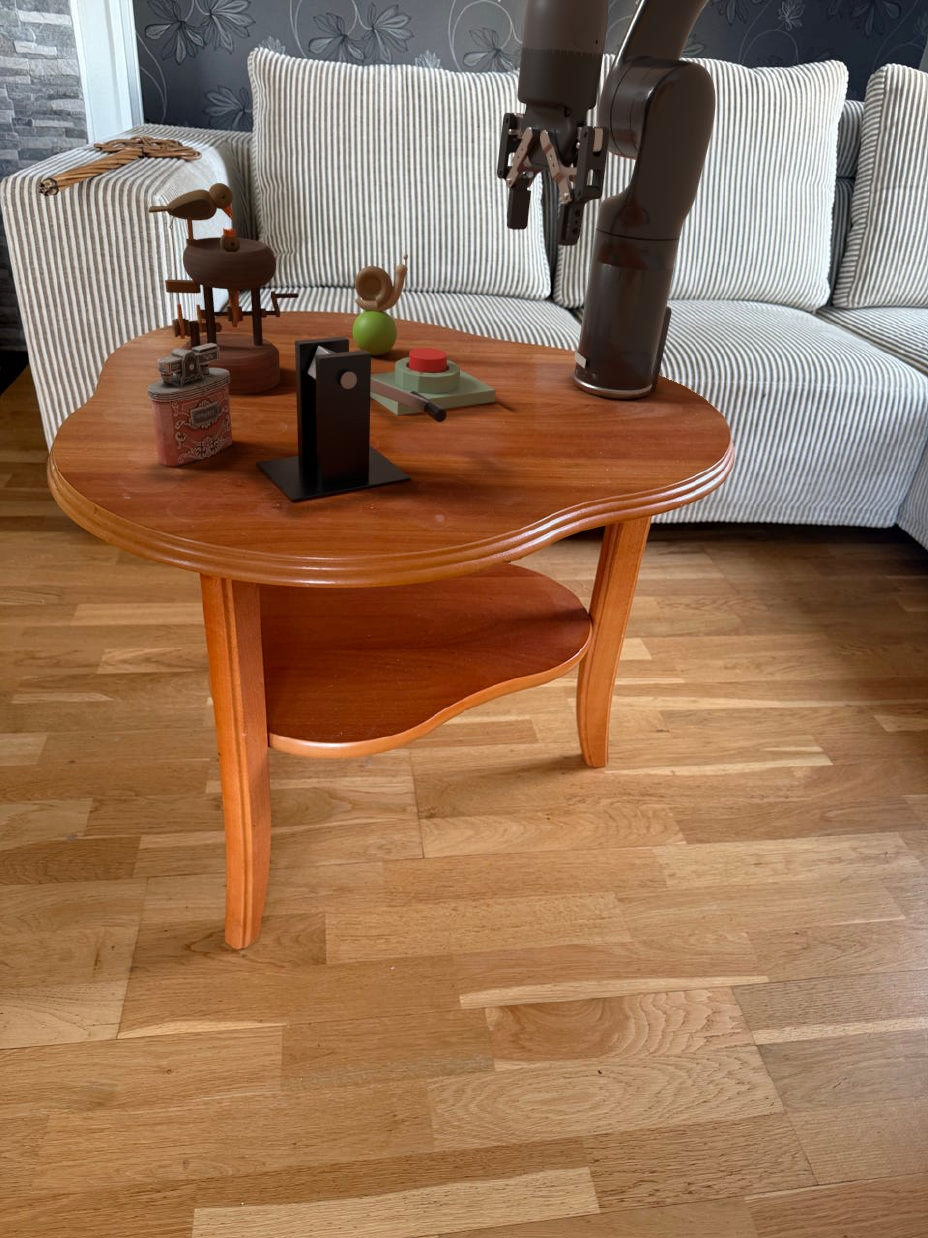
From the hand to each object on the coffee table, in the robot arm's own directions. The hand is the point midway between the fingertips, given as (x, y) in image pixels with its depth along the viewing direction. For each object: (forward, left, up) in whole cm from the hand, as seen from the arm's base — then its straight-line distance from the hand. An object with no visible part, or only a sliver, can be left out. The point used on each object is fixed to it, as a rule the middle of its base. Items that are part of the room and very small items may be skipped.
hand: (540, 236), depth 88 cm
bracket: (+28, +12, -17) cm, 35 cm away
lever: (+25, +12, -10) cm, 29 cm away
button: (+10, -3, -14) cm, 18 cm away
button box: (+10, -3, -17) cm, 20 cm away
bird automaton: (+26, -17, -17) cm, 36 cm away
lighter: (+38, +3, -17) cm, 42 cm away
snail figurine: (+7, -20, -17) cm, 28 cm away
